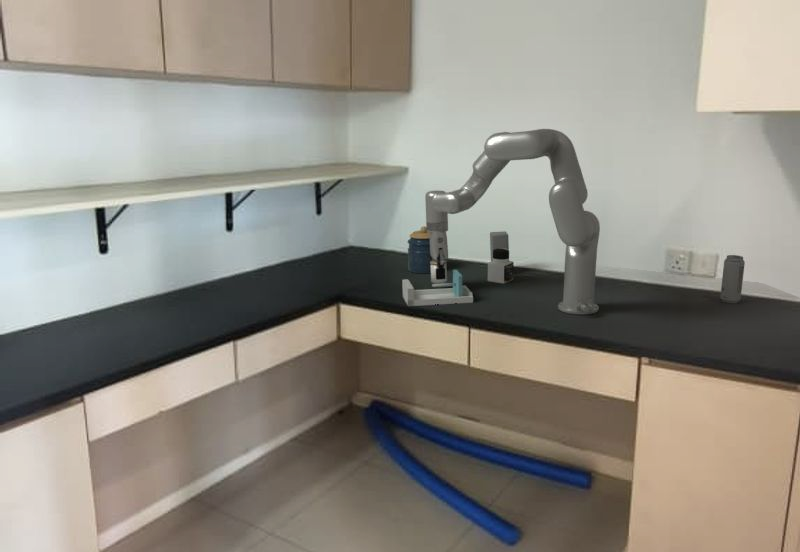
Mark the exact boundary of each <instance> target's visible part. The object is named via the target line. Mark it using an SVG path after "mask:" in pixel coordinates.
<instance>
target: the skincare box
mask: <svg viewBox="0 0 800 552" xmlns="http://www.w3.org/2000/svg"><path fill="white" fill-rule="evenodd" d="M509 241H510V240H509V234H508V232H507V231H506V230H505V231H490V232H489V243H490V244H489V245H490V246H489V247H490V262H491V261H494V260H493V250H494V249H497V248H504V249H507V250H509V251H510V249H509V247H510V244H509Z"/></svg>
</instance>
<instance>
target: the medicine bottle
mask: <svg viewBox="0 0 800 552" xmlns="http://www.w3.org/2000/svg"><path fill="white" fill-rule="evenodd" d="M493 260H494V261H491V260H490V261H489V262H487V282H491V283H497V284H507V283H509V282H511V281H514V261H513V260H510V249H509V250H507V249H504V248H497V249H494V250H493Z"/></svg>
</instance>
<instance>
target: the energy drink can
mask: <svg viewBox="0 0 800 552" xmlns="http://www.w3.org/2000/svg"><path fill="white" fill-rule="evenodd" d="M744 272H745V260H744V256H743V255H742V256H741V255H738V254H737V255H736V254H730V255H729V254H728V255H726V258H725V259H724V260H723V270H722V277H721V278H722V279H721V288H720V297H719V298H720V299H721V301H722V302H723V303H728V304H738V303H739V301H740V300H741V299H742V298H741V297H742V291H743V281H744Z"/></svg>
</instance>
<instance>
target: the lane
mask: <svg viewBox="0 0 800 552" xmlns="http://www.w3.org/2000/svg"><path fill="white" fill-rule="evenodd" d="M402 298H403V300H404V302H405V304H406V305H407V307H416V306H417V307H419V306H434V305H435V304H436V305H435V306H437V304H439V305H450V304H451V305H452V304H455V303H457V304H472V303H474V296H473V292H472V291H471V290H470V289H469V288H468V287H467V285H465V284H464V285H462V297H456V295H455V294H454V293H453V287H449V288H448V287H447V288H432V289H429V288H428V289H415V288H414V286H413V284H412V283H411V281H410V280H409V279H406V278H405V279H402Z"/></svg>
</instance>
